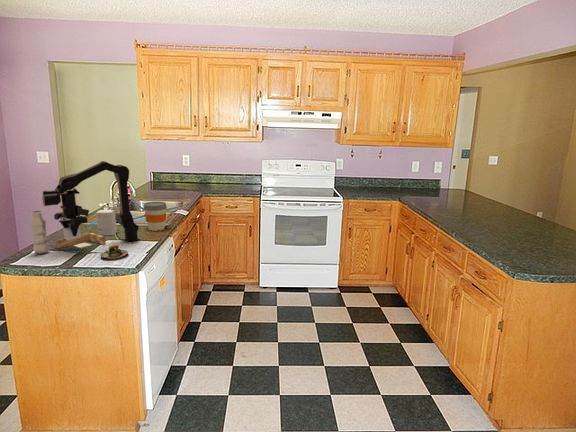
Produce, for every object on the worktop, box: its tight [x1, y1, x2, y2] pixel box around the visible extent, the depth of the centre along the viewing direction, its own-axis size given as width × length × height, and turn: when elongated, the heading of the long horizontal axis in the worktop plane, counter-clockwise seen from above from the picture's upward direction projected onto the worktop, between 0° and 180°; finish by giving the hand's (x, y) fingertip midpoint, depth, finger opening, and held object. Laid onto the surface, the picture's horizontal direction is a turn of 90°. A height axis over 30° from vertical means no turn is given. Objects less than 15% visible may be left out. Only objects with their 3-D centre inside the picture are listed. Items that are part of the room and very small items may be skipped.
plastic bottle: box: [29, 210, 50, 255], centre depth 185 cm, size 6×7×20 cm
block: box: [62, 226, 82, 240], centre depth 190 cm, size 4×6×5 cm, turn 147°
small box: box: [95, 209, 118, 236], centre depth 219 cm, size 8×6×13 cm
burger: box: [100, 240, 129, 260], centre depth 184 cm, size 12×12×8 cm
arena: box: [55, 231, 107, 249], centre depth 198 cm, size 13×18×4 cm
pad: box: [73, 242, 92, 249], centre depth 200 cm, size 6×6×1 cm
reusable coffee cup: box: [143, 201, 167, 232], centre depth 231 cm, size 13×13×15 cm
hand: (72, 235), depth 190 cm, fingers closed on block, 4 cm apart
